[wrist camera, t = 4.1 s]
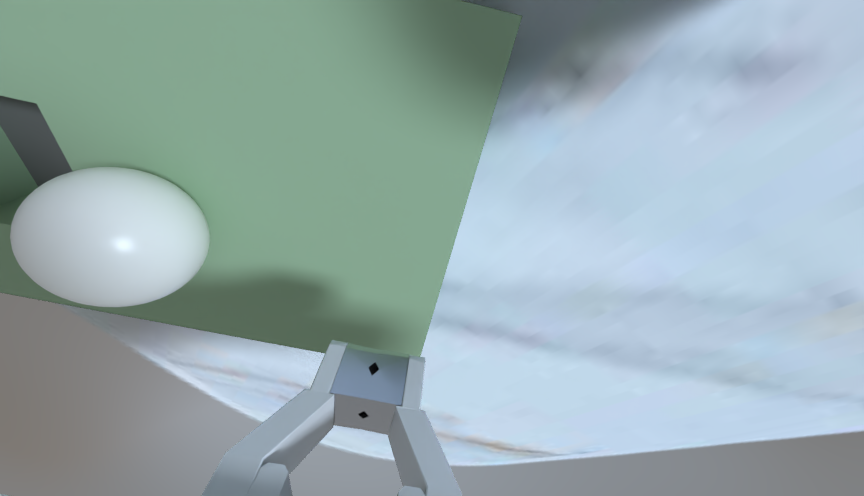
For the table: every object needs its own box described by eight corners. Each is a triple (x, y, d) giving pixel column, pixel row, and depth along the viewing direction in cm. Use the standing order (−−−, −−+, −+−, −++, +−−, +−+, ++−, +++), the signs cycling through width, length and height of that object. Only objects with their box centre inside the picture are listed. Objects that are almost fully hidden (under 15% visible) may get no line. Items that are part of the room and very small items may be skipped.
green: (-267, -179, 10) (-550, -255, 7) (507, 16, 11) (522, 15, 9) (41, 251, 21) (-25, 287, 18) (422, 325, 22) (416, 370, 19)
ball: (89, 133, 12) (-106, 193, 8) (223, 162, 12) (102, 234, 8) (138, 239, 15) (15, 321, 11) (244, 260, 15) (164, 349, 11)
